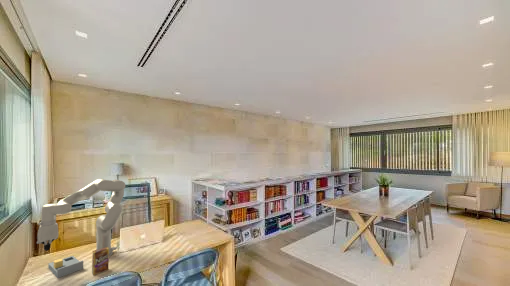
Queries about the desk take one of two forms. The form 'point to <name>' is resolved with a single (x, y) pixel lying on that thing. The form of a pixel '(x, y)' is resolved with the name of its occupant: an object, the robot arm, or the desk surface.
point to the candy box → (100, 260)
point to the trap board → (66, 266)
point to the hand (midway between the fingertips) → (47, 249)
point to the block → (58, 263)
